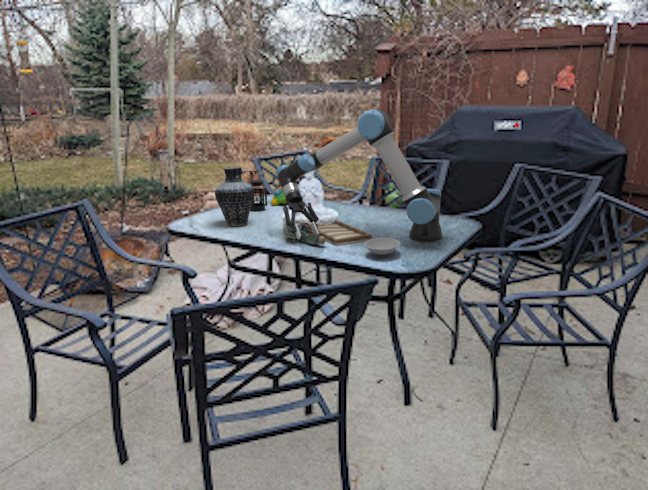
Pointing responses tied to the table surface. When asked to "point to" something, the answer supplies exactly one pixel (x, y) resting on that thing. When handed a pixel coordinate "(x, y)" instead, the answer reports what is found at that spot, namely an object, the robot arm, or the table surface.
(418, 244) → the table surface
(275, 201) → the turtle toy
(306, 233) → the hoverbike
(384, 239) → the dish
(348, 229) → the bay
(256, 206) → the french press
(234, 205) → the jug
